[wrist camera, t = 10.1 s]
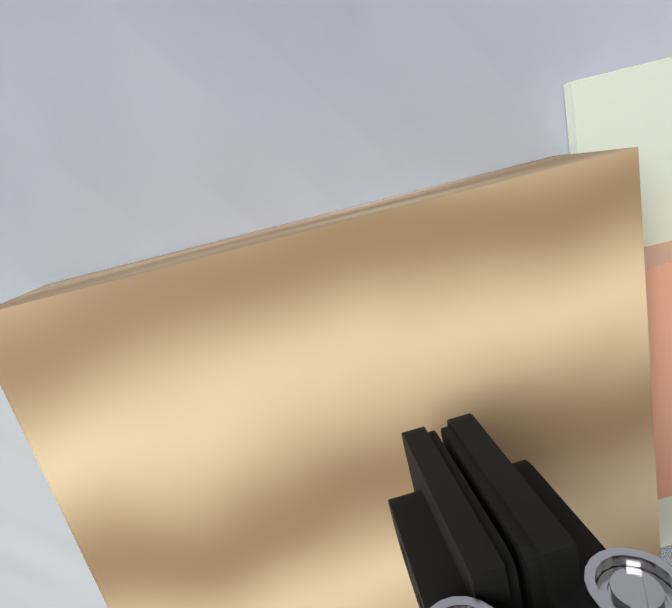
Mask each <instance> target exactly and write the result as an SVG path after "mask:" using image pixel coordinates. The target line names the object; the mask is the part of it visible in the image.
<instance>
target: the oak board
mask: <svg viewBox="0 0 672 608" xmlns="http://www.w3.org/2000/svg"><path fill="white" fill-rule="evenodd" d="M0 385H1V387H2V389H3V391H4V393H5V395H6V398H7V400H8V402H9V404H10V406H11V408H12V410H13V412H14V414H15V416H16V418H17V420H18V422H19V424H20V426H21V428H22V431H23V433H24V435H25V437H26V439H27V441H28V443H29V445H30V447H31V449H32V451H33V453H34V455H35V457H36V459H37V462H38V464H39V466H40V468H41V470H42V472H43V474H44V476H45V478H46V480H47V482H48V484H49V486H50V488H51V490H52V493H53V495H54V497H55V499H56V501H57V503H58V505H59V507H60V509H61V511H62V513H63V515H64V517H65V519H66V521H67V523H68V526H69V528H70V530H71V532H72V534H73V536H74V538H75V540H76V542H77V544H78V546H79V548H80V550H81V552H82V554H83V557H84V559H85V561H86V563H87V565H88V567H89V569H90V571H91V573H92V575H93V577H94V579H95V581H96V583H97V585H98V587H99V590H100V592H101V594H102V596H103V598H104V600H105V602H106V604H107V606H108V608H419V605H418V602H417V599H416V596H415V593H414V590H413V587H412V584H411V581H410V578H409V574H408V571H407V568H406V565H405V562H404V559H403V555H402V552H401V549H400V545H399V542H398V538H397V535H396V531H395V527H394V523H393V519H392V516H391V512H390V508H389V503H388V500H389V499H392V498H395V497H399V496H402V495H406V494H409V493H412V492H414V488H413V483H412V479H411V475H410V470H409V466H408V462H407V458H406V453H405V449H404V445H403V440H402V433H403V432H406V431H410V430H413V429H417V428H420V427H425V428H426V430H427V432H429V431H433V430H435V431H436V432H437V434H438V436H439V437H440V439H441V441H442V442H443V440H442V435H441V428H443V427H447V420H448V419H451V418H455V417H458V416H462V415H465V414H469V413H470V414H472V415H473V416H474V417H475V418H476V420H477V421H478V422H479V423H480V425H481V426H482V427H483V428H484V430H485V431H486V432H487V433H488V435H489V436H490V437H491V438H492V439H493V441H494V442H495V443H496V444H497V446H498V447H499V448H500V449H501V451H502V452H503V453H504V454H505V456H506V457H507V458H508V459H509V460H510V462H511V463H515V462H518V461H521V460H527V461H529V462H530V463H531V464H532V465H533V466H534V467H535V469H536V470H537V471H538V472H539V473H540V474H541V475H542V477H543V478H544V479H545V480H546V481H547V482H548V483H549V485H550V486H551V487H552V488H553V489H554V490H555V491H556V493H557V494H558V495H559V496H560V497H561V498H562V499H563V501H564V502H565V503H566V504H567V505H568V506H569V507H570V509H571V510H572V511H573V512H574V513H575V514H576V515H577V517H578V518H579V519H580V520H581V521H582V522H583V523H584V525H585V526H586V527H587V528H588V529H589V530H590V531H591V533H592V534H593V535H594V536H595V537H596V538H597V539H598V540H599V542H600V543H601V544H602V545H603V546H604V547H605V548H606V549H610V548H631V549H637V550H642V551H645V552H647V553H649V554H652V555H654V556H657V557H659V558H661V552H660V534H659V515H658V497H657V479H656V461H655V443H654V425H653V406H652V388H651V370H650V352H649V334H648V315H647V297H646V279H645V261H644V243H643V225H642V206H641V188H640V170H639V152H638V147H631V148H622V149H613V150H604V151H595V152H585V153H576V154H567V155H558V156H552V157H548V158H544V159H540V160H537V161H533V162H529V163H525V164H521V165H517V166H513V167H509V168H505V169H501V170H497V171H493V172H489V173H485V174H481V175H477V176H473V177H470V178H466V179H462V180H458V181H454V182H450V183H446V184H442V185H438V186H434V187H430V188H426V189H422V190H418V191H414V192H410V193H406V194H403V195H399V196H395V197H391V198H387V199H383V200H379V201H375V202H371V203H367V204H363V205H359V206H355V207H351V208H347V209H343V210H339V211H336V212H332V213H328V214H324V215H320V216H316V217H312V218H308V219H304V220H300V221H296V222H292V223H288V224H284V225H280V226H276V227H272V228H269V229H265V230H261V231H257V232H253V233H249V234H245V235H241V236H237V237H233V238H229V239H225V240H221V241H217V242H213V243H209V244H206V245H202V246H198V247H194V248H190V249H186V250H182V251H178V252H174V253H170V254H166V255H162V256H158V257H154V258H150V259H146V260H142V261H139V262H135V263H131V264H127V265H123V266H119V267H115V268H111V269H107V270H103V271H99V272H95V273H91V274H87V275H83V276H79V277H75V278H72V279H68V280H64V281H60V282H56V283H52V284H48V285H45V286H42V287H40V288H38V289H35V290H33V291H30V292H28V293H26V294H23V295H21V296H18V297H16V298H14V299H11V300H9V301H7V302H4V303H2V304H0Z"/></svg>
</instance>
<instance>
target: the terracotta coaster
mask: <svg viewBox="0 0 672 608" xmlns="http://www.w3.org/2000/svg"><path fill="white" fill-rule="evenodd" d="M644 261H645V279H646V297H647V315H648V334H649V352H650V370H651V388H652V406H653V425H654V443H655V461H656V479H657V497H658V500H659V499H663V498H667V497H670V496H672V240H671V241H667V242H663V243H659V244H655V245H651V246H646V247H644Z"/></svg>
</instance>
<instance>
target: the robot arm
mask: <svg viewBox="0 0 672 608" xmlns="http://www.w3.org/2000/svg"><path fill="white" fill-rule="evenodd" d="M441 435H442V440H443V442H442V441H441V439H440V437H439V436H438V434H437V432H436V431H435V430H433V431H429V432H427V430H426V428H425V427H420V428H417V429H413V430H410V431H406V432H403V433H402V440H403V445H404V449H405V453H406V458H407V462H408V466H409V470H410V475H411V479H412V483H413V488H414V492H412V493H409V494H406V495H402V496H399V497H395V498H392V499H389V500H388V503H389V508H390V512H391V516H392V519H393V523H394V527H395V531H396V535H397V538H398V542H399V545H400V549H401V552H402V555H403V559H404V562H405V565H406V568H407V571H408V574H409V578H410V581H411V584H412V587H413V590H414V593H415V596H416V599H417V602H418V605H419V608H672V566H671V565H670V564H668V563H667V562H665V561H664V560H662V559H661V558H659V557H657V556H654V555H652V554H649V553H647V552H645V551H642V550H637V549H631V548H610V549H606V548H605V547H604V546H603V545H602V544H601V543H600V542H599V540H598V539H597V538H596V537H595V536H594V535H593V534H592V533H591V531H590V530H589V529H588V528H587V527H586V526H585V525H584V523H583V522H582V521H581V520H580V519H579V518H578V517H577V515H576V514H575V513H574V512H573V511H572V510H571V509H570V507H569V506H568V505H567V504H566V503H565V502H564V501H563V499H562V498H561V497H560V496H559V495H558V494H557V493H556V491H555V490H554V489H553V488H552V487H551V486H550V485H549V483H548V482H547V481H546V480H545V479H544V478H543V477H542V475H541V474H540V473H539V472H538V471H537V470H536V469H535V467H534V466H533V465H532V464H531V463H530V462H529V461H527V460H521V461H518V462H515V463H511V462H510V460H509V459H508V458H507V457H506V456H505V454H504V453H503V452H502V451H501V449H500V448H499V447H498V446H497V444H496V443H495V442H494V441H493V439H492V438H491V437H490V436H489V435H488V433H487V432H486V431H485V430H484V428H483V427H482V426H481V425H480V423H479V422H478V421H477V420H476V418H475V417H474V416H473V415H472V414H470V413H469V414H465V415H462V416H458V417H455V418H451V419H448V420H447V427H443V428H441Z"/></svg>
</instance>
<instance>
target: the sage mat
mask: <svg viewBox="0 0 672 608" xmlns="http://www.w3.org/2000/svg"><path fill="white" fill-rule="evenodd" d="M563 86H564V96H565V107H566V117H567V128H568V139H569V149H570V154H576V153H585V152H595V151H604V150H613V149H622V148H631V147H638V152H639V170H640V188H641V206H642V225H643V243H644V247H646V246H651V245H655V244H659V243H663V242H667V241H671V240H672V57H668V58H664V59H660V60H656V61H652V62H648V63H644V64H640V65H636V66H632V67H628V68H624V69H620V70H615V71H611V72H607V73H603V74H599V75H595V76H591V77H587V78H583V79H579V80H575V81H571V82H568V83H565V84H563ZM658 515H659V534H660V548H663V547H666V546H670V545H672V496H670V497H667V498H663V499H659V500H658Z"/></svg>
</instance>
